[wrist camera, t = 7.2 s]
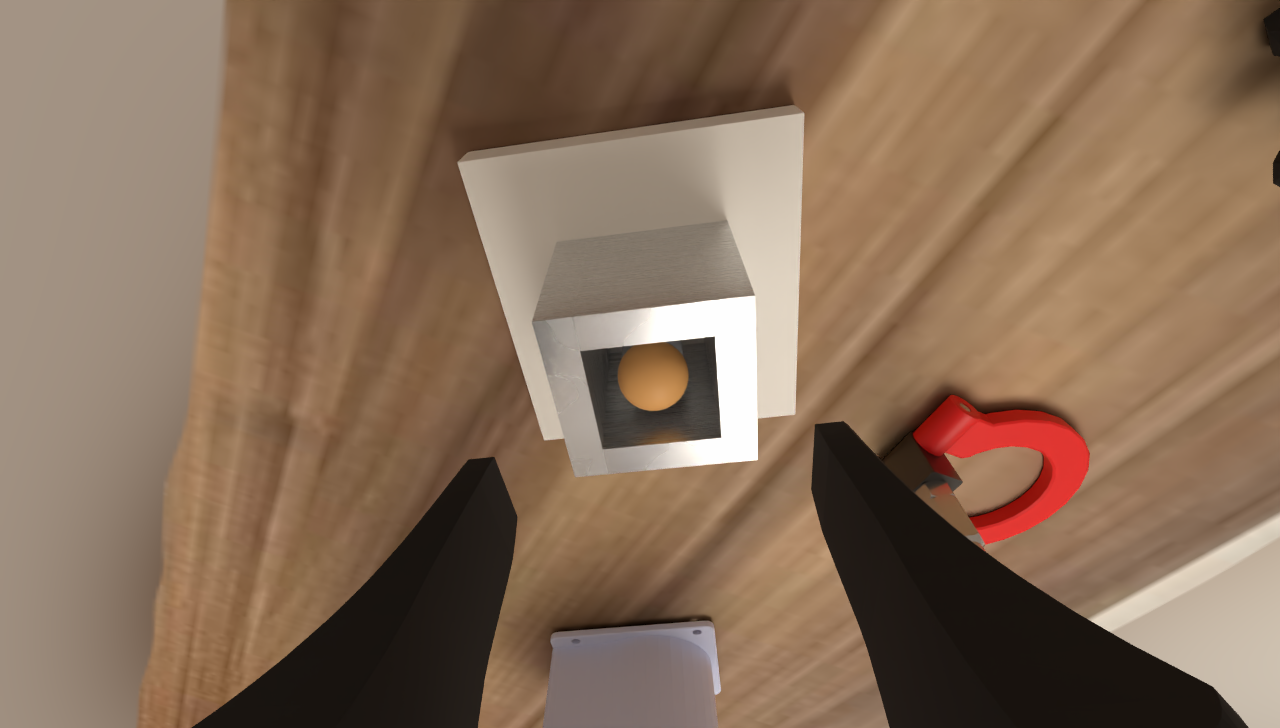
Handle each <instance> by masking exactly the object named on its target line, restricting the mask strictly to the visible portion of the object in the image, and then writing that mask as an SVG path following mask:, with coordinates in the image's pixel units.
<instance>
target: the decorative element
mask: <svg viewBox="0 0 1280 728" xmlns="http://www.w3.org/2000/svg"><path fill="white" fill-rule="evenodd" d="M1264 23H1265V27H1266V31H1267V35H1268V39H1269V43H1270V47H1271V50H1272V53H1273V56H1280V8H1279V9H1277V10H1276V11H1274V12H1273V13H1272V14H1270V15H1269V16H1267V17H1266V18H1265V19H1264ZM1273 184H1275V185H1277V186H1279V187H1280V151H1279V152H1278V154H1277V156H1276V158H1275V160H1274V162H1273Z"/></svg>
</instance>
